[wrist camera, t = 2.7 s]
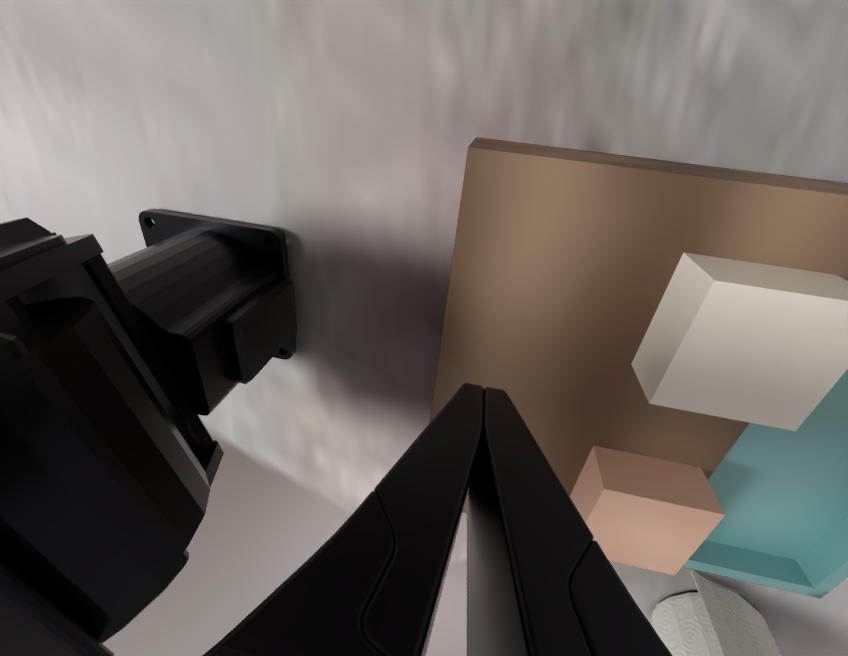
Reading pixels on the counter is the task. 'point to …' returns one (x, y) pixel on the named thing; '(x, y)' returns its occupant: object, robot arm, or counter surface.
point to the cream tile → (745, 341)
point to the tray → (784, 503)
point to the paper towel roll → (712, 624)
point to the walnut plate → (606, 285)
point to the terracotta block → (645, 508)
